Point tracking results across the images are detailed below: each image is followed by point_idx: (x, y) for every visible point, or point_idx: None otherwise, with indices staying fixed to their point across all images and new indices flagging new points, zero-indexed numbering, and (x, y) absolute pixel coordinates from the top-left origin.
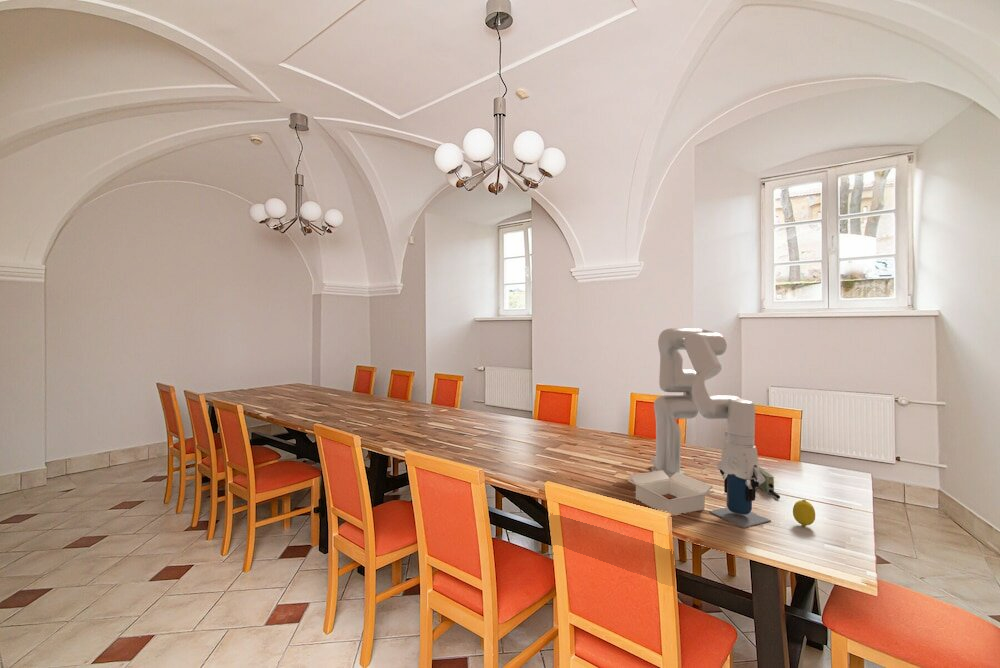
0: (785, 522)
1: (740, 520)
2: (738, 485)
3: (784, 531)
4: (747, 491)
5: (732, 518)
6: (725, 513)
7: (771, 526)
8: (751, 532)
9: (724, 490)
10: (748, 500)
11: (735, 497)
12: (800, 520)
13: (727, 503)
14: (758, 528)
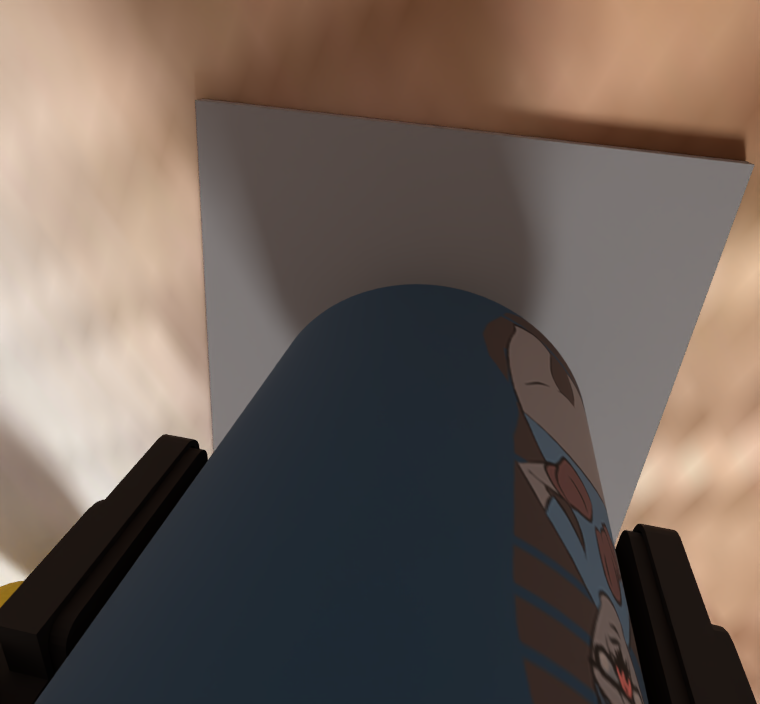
0: None
1: (333, 251)
2: (145, 613)
3: (41, 397)
4: (66, 567)
5: (418, 221)
6: (556, 289)
7: (147, 406)
8: (94, 73)
9: (680, 547)
10: (158, 450)
11: (333, 383)
12: (5, 589)
13: (528, 339)
14: (150, 255)
